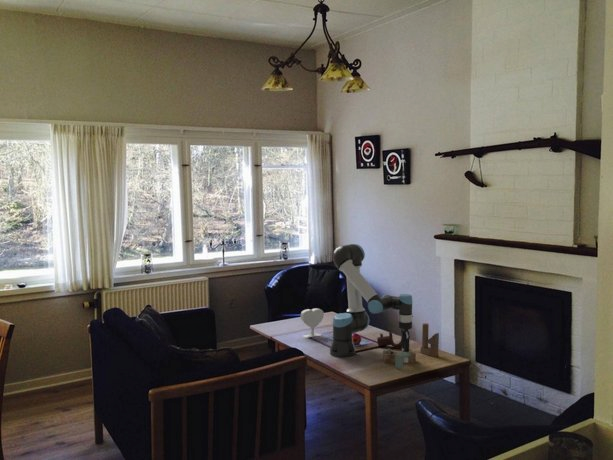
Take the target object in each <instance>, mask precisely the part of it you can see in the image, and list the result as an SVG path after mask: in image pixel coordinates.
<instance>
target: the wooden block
mask: <svg viewBox="0 0 613 460" xmlns="http://www.w3.org/2000/svg"><path fill="white" fill-rule="evenodd" d="M429 325H430V324H429V323H426V322H425V323H422V329H421V331H422V333H421V335H422V336H421V340H422V341H421V346H420V353H421V354H424V355H426V356H430V357H433V358H437V357H439V347H440V346H439V342H440V339H439V338H440V333H439V332H438V333H434V334H433V335H432V336H430V338H429V330H430V329H429V327H430V326H429ZM429 346H430V347H429Z"/></svg>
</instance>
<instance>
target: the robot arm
mask: <svg viewBox="0 0 613 460" xmlns="http://www.w3.org/2000/svg"><path fill="white" fill-rule="evenodd" d="M365 257H366V253H365V250H364V249H363V247H362V246H361V245H359V244H356V243H353V244H352V243H351V244H346V245H345V244H344V245H340V246H337V247H336V248H335V249H334V250H333V254H332V260H333V263H334V265H335V266H336V268H337V269H338V271H340V272H342V273H343V274H344V275H345V277H346V291H347V301H348V302H347V303H348V304H347V305H348V308H347V309H346V312H341V313H340V312H339V313H337V314H335V315H334V316H333V318H332V319H333V320H332V342H331V345H330V348H329V354H330V355H331V356H334V357H339V358H349V357H352V356H355V355H356V348H355V345H354V342H353V334H355V333H358V332H362V331H364V330H366V329H367V328H368V327H369V324H370V316H369V315H368V312H367V311H366V309H365V308H364V306H363V299H364V300H365V301H366V303H367V308H368V311H369V312H370V313H371V314H380V313H383V312H385V311H389V310H396V311H398V328H399V329H401V330H400V331H401V333H400V334H401V338H400V342H401V346H402V347H401V352H410V338H411V337H410V331H409V330H411V329H413V322H412V321H413V317H414V315H413V296H412V295H411V294H410V293H401V294H399V296H394V295H389V294H384V295H381V296H379V294H378V293H377V292H376V290H375V289H374V288H373V287H372V285H371V284H370V283H369V282H368V281H367V279H366V278H365V277H364V276H363V274H361V267H362V266H363V263H362V262H363V261H364V259H365ZM406 363H407V364H408V363H409V362H408V357H405V358H403V364H406Z"/></svg>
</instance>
